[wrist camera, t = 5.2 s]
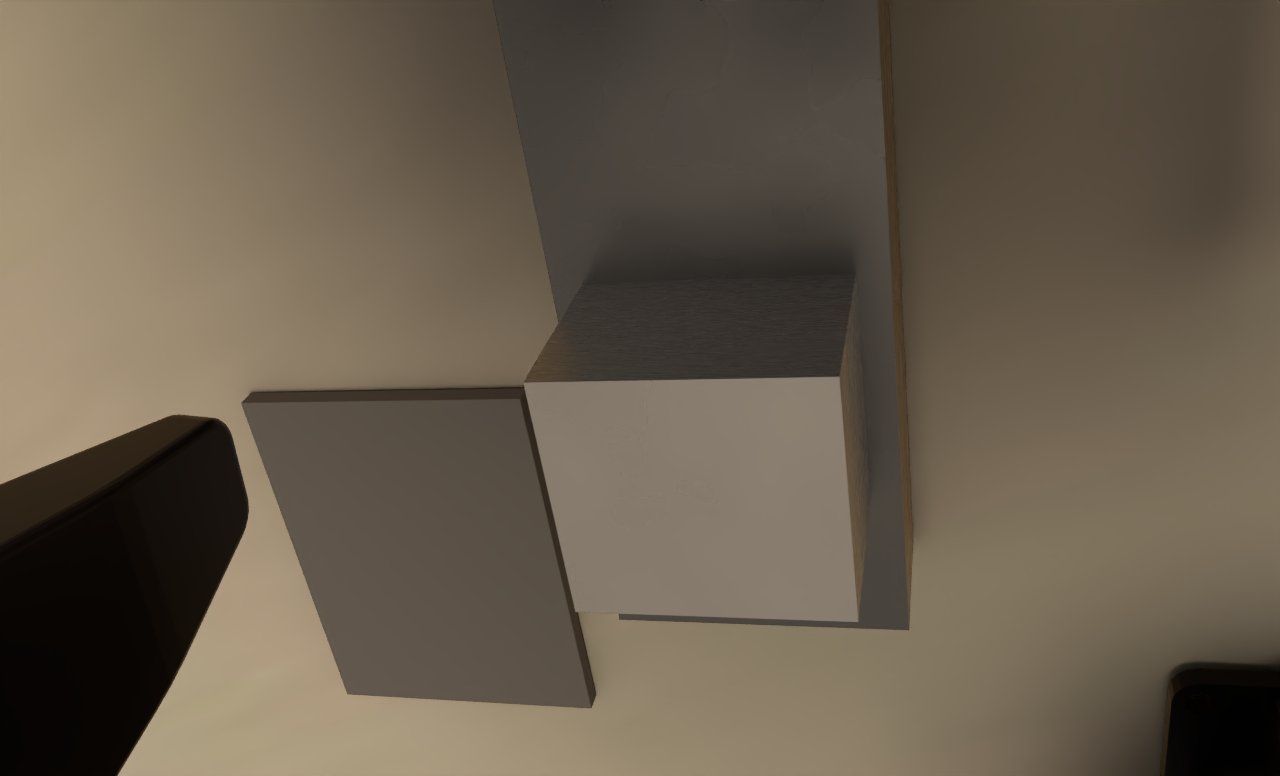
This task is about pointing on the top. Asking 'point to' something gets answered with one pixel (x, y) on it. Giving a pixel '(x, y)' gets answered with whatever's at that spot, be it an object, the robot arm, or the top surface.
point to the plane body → (729, 184)
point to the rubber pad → (427, 542)
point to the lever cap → (708, 447)
